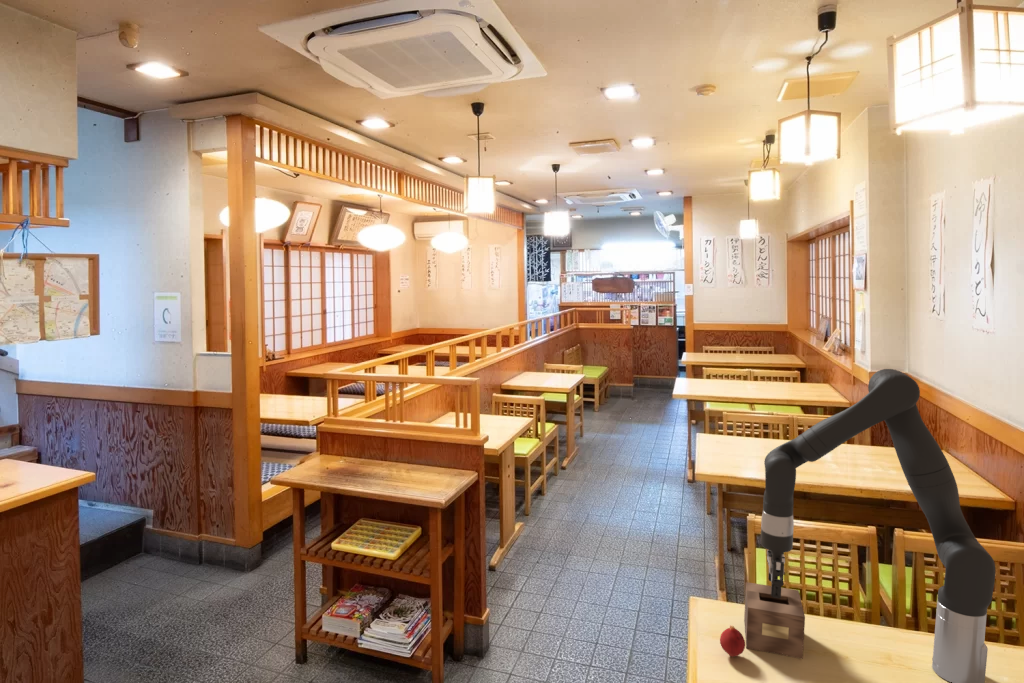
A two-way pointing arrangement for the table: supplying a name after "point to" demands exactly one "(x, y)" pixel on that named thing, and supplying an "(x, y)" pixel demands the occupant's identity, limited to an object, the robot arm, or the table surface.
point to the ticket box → (774, 621)
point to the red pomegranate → (732, 641)
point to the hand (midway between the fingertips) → (774, 588)
